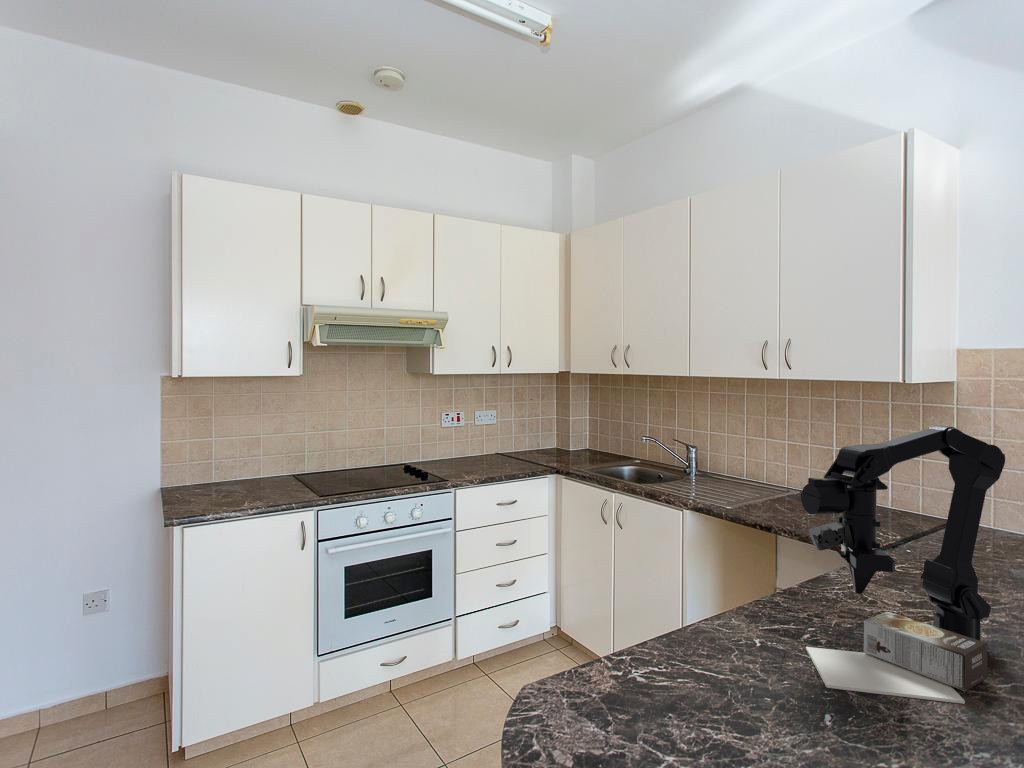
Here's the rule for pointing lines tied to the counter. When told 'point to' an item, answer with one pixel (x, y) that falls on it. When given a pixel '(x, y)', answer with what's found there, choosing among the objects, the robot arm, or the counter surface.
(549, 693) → the counter surface
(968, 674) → the coffee box
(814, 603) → the counter surface
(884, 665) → the mat
